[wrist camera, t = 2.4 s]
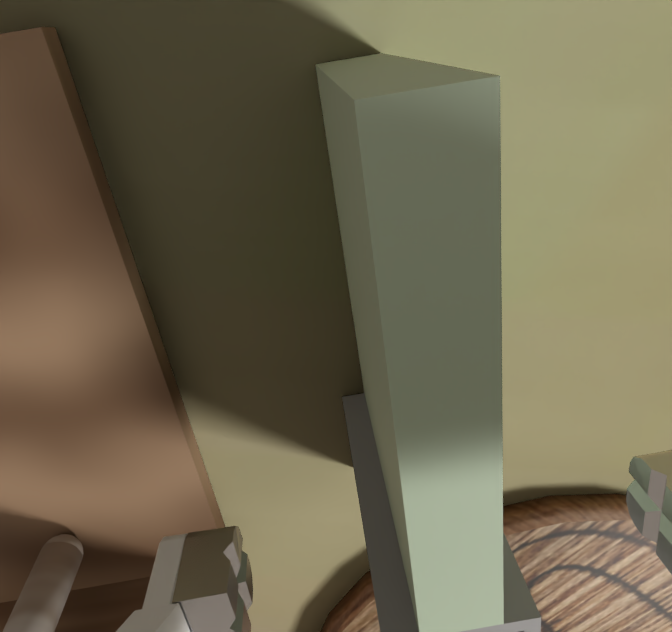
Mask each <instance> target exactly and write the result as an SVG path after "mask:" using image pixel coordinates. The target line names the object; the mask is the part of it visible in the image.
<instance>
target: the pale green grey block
mask: <svg viewBox="0 0 672 632" xmlns="http://www.w3.org/2000/svg"><path fill="white" fill-rule="evenodd" d="M315 66H316V73H317V79H318V86H319V93H320V100H321V106H322V113H323V120H324V126H325V133H326V140H327V146H328V153H329V160H330V166H331V173H332V180H333V186H334V193H335V200H336V207H337V213H338V220H339V227H340V233H341V240H342V247H343V253H344V260H345V267H346V273H347V280H348V287H349V294H350V300H351V307H352V314H353V320H354V327H355V334H356V340H357V347H358V354H359V360H360V367H361V374H362V381H363V387H364V393H362V394H356V395H350V396H344V397H342V400H343V406H344V412H345V418H346V424H347V431H348V437H349V443H350V449H351V455H352V461H353V467H354V473H355V480H356V486H357V492H358V498H359V504H360V510H361V516H362V522H363V529H364V535H365V541H366V547H367V553H368V559H369V565H370V571H371V578H372V584H373V590H374V596H375V602H376V608H377V614H378V620H379V627H380V632H541V616H540V613H539V611H538V609H537V607H536V604H535V602H534V600H533V598H532V595H531V593H530V591H529V589H528V586H527V584H526V582H525V580H524V577H523V575H522V573H521V571H520V568H519V566H518V564H517V561H516V559H515V557H514V555H513V552H512V550H511V548H510V546H509V543H508V541H507V539H506V537H505V534H504V532H503V443H502V297H501V151H500V76H499V75H494V74H489V73H483V72H478V71H473V70H467V69H462V68H457V67H452V66H446V65H441V64H436V63H430V62H425V61H420V60H415V59H409V58H404V57H399V56H393V55H388V54H383V53H381V54H375V55H369V56H363V57H357V58H350V59H344V60H338V61H332V62H326V63H320V64H315Z"/></svg>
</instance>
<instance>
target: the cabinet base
mask: <svg viewBox="0 0 672 632" xmlns="http://www.w3.org/2000/svg"><path fill="white" fill-rule="evenodd" d="M224 527H225V525H224V522H223V519H222V516H221V513H220V510H219V507H218V504H217V501H216V498H215V495H214V492H213V489H212V486H211V483H210V481H209V478H208V475H207V472H206V469H205V466H204V463H203V460H202V457H201V454H200V451H199V448H198V445H197V442H196V439H195V436H194V434H193V431H192V428H191V425H190V422H189V419H188V416H187V413H186V410H185V407H184V404H183V401H182V398H181V395H180V392H179V390H178V387H177V384H176V381H175V378H174V375H173V372H172V369H171V366H170V363H169V360H168V357H167V354H166V351H165V348H164V346H163V343H162V340H161V337H160V334H159V331H158V328H157V325H156V322H155V319H154V316H153V313H152V310H151V307H150V304H149V301H148V299H147V296H146V293H145V290H144V287H143V284H142V281H141V278H140V275H139V272H138V269H137V266H136V263H135V260H134V257H133V255H132V252H131V249H130V246H129V243H128V240H127V237H126V234H125V231H124V228H123V225H122V222H121V219H120V216H119V213H118V211H117V208H116V205H115V202H114V199H113V196H112V193H111V190H110V187H109V184H108V181H107V178H106V175H105V172H104V169H103V166H102V164H101V161H100V158H99V155H98V152H97V149H96V146H95V143H94V140H93V137H92V134H91V131H90V128H89V125H88V122H87V120H86V117H85V114H84V111H83V108H82V105H81V102H80V99H79V96H78V93H77V90H76V87H75V84H74V81H73V78H72V75H71V73H70V70H69V67H68V64H67V61H66V58H65V55H64V52H63V49H62V46H61V43H60V40H59V37H58V34H57V31H56V29H55V27H38V28H32V29H26V30H20V31H14V32H8V33H2V34H0V632H116V631H117V630H118V629H119V628H120V626H121V625H122V624H123V623H124V622H125V621H126V620H127V619H128V617H129V616H130V615H131V614H132V613H133V612H134V611H135V610H140V609H142V607H143V604H144V600H145V596H146V592H147V588H148V584H149V581H150V577H151V573H152V569H153V565H154V561H155V558H156V554H157V550H158V546H159V543H160V542H161V540H162V539H163V537H166V536H173V535H180V534H187V533H190V532H197V531H203V530H210V529H217V528H224Z"/></svg>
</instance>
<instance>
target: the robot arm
mask: <svg viewBox="0 0 672 632" xmlns="http://www.w3.org/2000/svg"><path fill="white" fill-rule="evenodd" d="M629 473H630V474H631V475H632V476H633V478H634V479H635V480H634V481H633V482H632V483H631V484H630V486H629V487H628V488H627V495H626V503H627V507H628V511H629V515H630V517H631V519H632V521H633V523H634V525H635V526H636V528H637V529H638V530H639V532H640V533H641V535H642V536H644V537H646V538H648V539H650V540H652V541H653V542H655V543H657V544H656V555H657V556H658V557H659V559H660V560H661V561H662V563H663V564H664V565H665V567H666V568H667V569H668V571H669V572H670V573H671V575H672V450H668V451H662V452H657V453H652V454H646V455H641V456H635V457H633V459H632V460H631V462H630V467H629ZM242 541H243V538H242V535H241V532H240V529H239V527H238V526H231V527H224V528H217V529H210V530H203V531H197V532H190V533H187V534H180V535H173V536H166V537H163V539H162V540H161V542H160V543H159V546H158V550H157V554H156V558H155V561H154V565H153V569H152V573H151V577H150V581H149V584H148V588H147V592H146V596H145V600H144V604H143V607H142V609H140V610H135V611H134V612H133V613H132V614H131V615H130V616H129V617H128V619H127V620H126V621H125V622H124V623H123V624H122V625H121V626H120V628H119V629H118V630H117V631H116V632H251V623H250V620H249V616H248V613H247V610H248V609H249V607H250V606H251V604H252V599H253V584H252V572H251V566H250V562H249V558H248V555H247V554H246V553H245V552H243V551H242Z"/></svg>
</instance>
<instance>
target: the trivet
mask: <svg viewBox="0 0 672 632" xmlns="http://www.w3.org/2000/svg"><path fill="white" fill-rule="evenodd" d="M503 532H504V534H505V537H506V539H507V541H508V543H509V546H510V548H511V550H512V552H513V555H514V557H515V559H516V561H517V564H518V566H519V568H520V571H521V573H522V575H523V577H524V580H525V582H526V584H527V586H528V589H529V591H530V593H531V595H532V598H533V600H534V602H535V604H536V607H537V609H538V611H539V613H540V616H541V632H672V575H671V573H670V572H669V571H668V569H667V568H666V567H665V565H664V564H663V563H662V561H661V560H660V559H659V557H658V556H657V555H656V544H657V543H655V542H653V541H652V540H650V539H648V538H646V537H644V536H642V535H641V533H640V532H639V530H638V529H637V528H636V526H635V525H634V523H633V521H632V519H631V517H630V515H629V511H628V507H627V503H626V495H621V494H590V495H557V496H547V497H542V498H538V499H533V500H529V501H524V502H520V503H516V504H511V505H507V506H503ZM321 632H380V627H379V620H378V614H377V608H376V602H375V596H374V590H373V584H372V578H371V571H369V572H367V573H366V574H365V575H364V576H363V577H362V578H361V579H360V580H359V581H358V582H357V583H356V584H355V586H354V587H353V588H352V589H351V590H350V591H349V592H348V593H347V594H346V595H345V596H344V598H343V599H342V600H341V601H340V602H339V603H338V604H337V605H336V606H335V607H334V609H333V610H332V611H331V612H330V613H329V615H328V617H327V619H326V621H325V624H324V626H323V628H322V630H321Z"/></svg>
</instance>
